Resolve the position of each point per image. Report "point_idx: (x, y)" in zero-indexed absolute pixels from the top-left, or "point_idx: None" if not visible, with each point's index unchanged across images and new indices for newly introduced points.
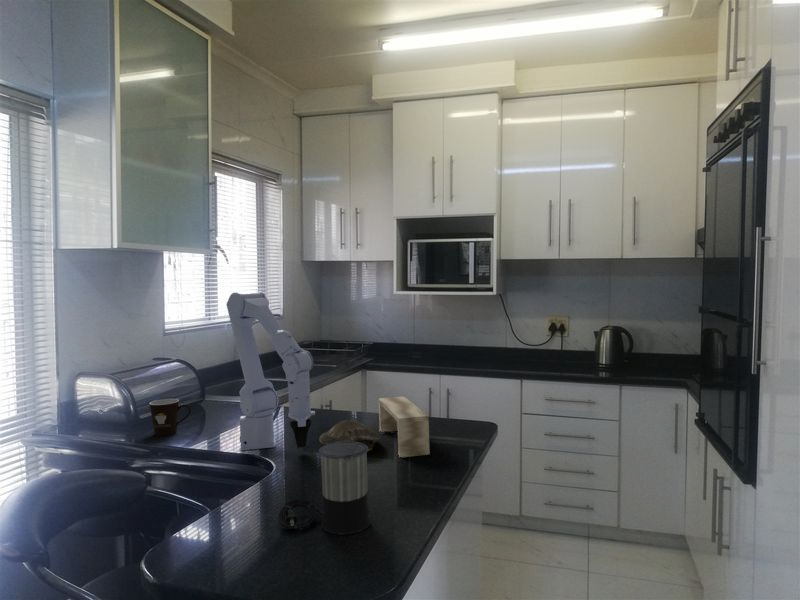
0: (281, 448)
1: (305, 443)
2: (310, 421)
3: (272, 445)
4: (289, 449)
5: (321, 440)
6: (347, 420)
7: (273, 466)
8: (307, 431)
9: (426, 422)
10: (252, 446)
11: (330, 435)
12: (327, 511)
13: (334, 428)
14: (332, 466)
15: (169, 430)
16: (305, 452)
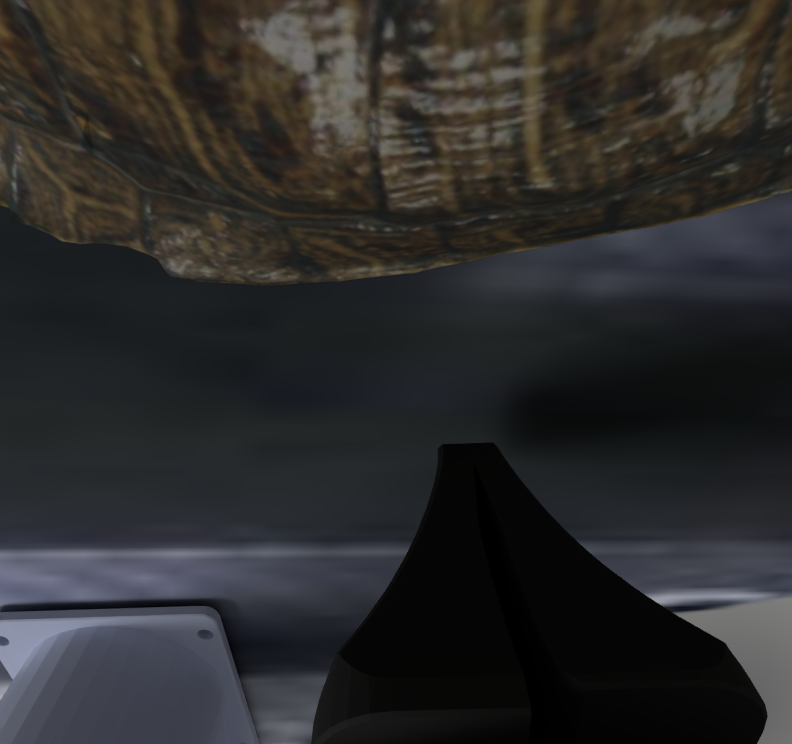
0: (242, 566)
1: (508, 464)
2: (628, 693)
3: (198, 631)
4: (286, 515)
5: (362, 261)
6: None
7: (690, 602)
8: (610, 572)
9: None
10: (222, 727)
11: (653, 143)
12: None
13: (444, 9)
14: None
15: None
16: (423, 396)
